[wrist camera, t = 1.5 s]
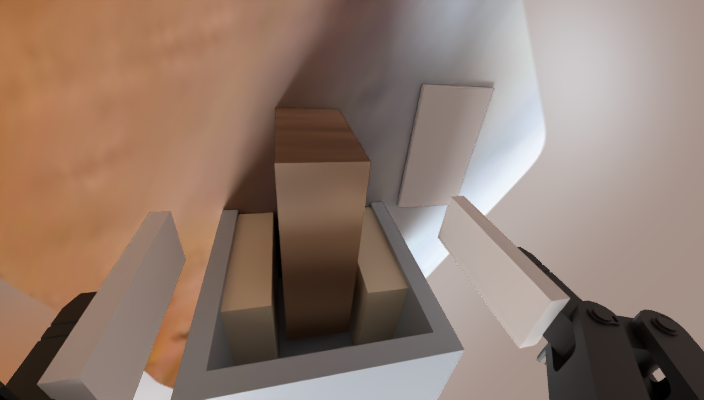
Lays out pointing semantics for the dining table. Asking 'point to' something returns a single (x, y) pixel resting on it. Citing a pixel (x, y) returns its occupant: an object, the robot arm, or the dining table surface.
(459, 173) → the mat
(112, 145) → the dining table surface
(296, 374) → the white storage bin
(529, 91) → the dining table surface
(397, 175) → the dining table surface
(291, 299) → the walnut blank
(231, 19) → the dining table surface
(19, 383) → the robot arm
